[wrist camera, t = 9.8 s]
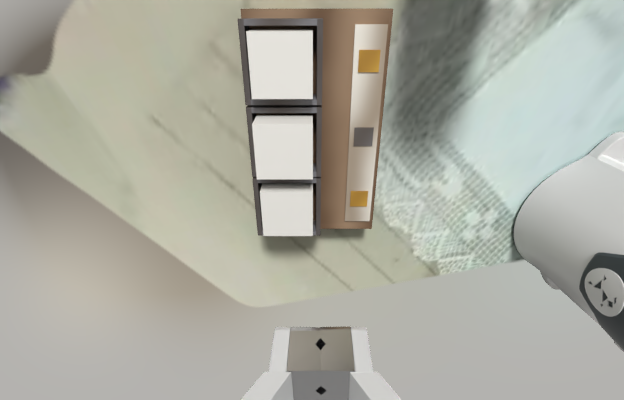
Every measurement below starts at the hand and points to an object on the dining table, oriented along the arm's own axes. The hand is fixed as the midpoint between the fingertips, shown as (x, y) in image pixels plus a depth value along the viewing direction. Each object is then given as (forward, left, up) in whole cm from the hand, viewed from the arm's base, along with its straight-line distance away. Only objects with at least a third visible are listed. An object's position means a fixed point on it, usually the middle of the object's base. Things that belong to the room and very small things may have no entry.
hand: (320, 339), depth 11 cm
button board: (0, 0, -24) cm, 24 cm away
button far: (+2, +6, -20) cm, 21 cm away
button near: (+2, -6, -20) cm, 21 cm away
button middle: (+2, 0, -19) cm, 19 cm away
